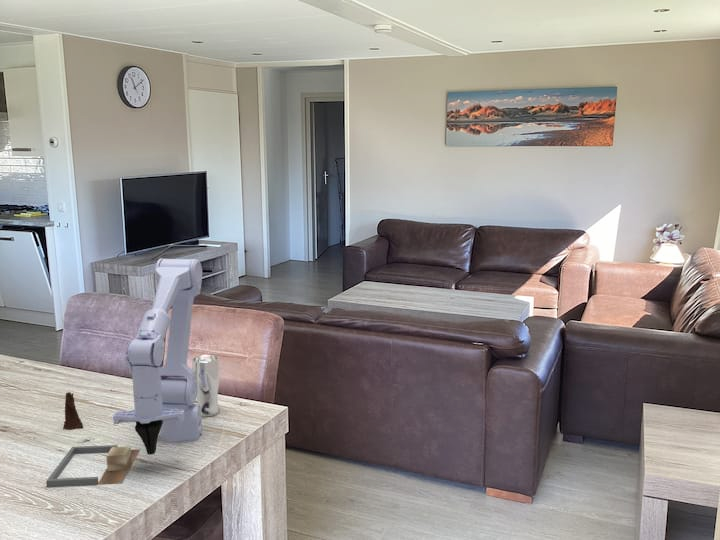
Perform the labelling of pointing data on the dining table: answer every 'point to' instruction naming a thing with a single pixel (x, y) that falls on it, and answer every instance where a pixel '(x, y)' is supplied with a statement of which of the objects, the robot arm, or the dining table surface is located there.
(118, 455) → the birch block
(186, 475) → the dining table surface
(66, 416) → the chess piece
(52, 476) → the box
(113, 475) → the walnut board
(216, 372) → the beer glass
